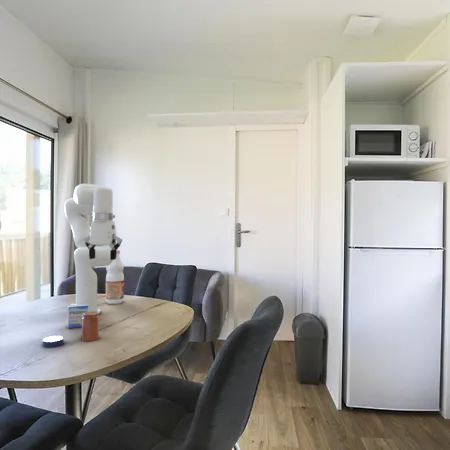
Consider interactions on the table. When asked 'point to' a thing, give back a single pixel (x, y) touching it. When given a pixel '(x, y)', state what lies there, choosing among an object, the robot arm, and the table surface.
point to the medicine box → (75, 315)
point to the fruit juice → (115, 281)
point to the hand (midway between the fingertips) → (102, 259)
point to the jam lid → (53, 341)
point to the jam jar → (90, 326)
